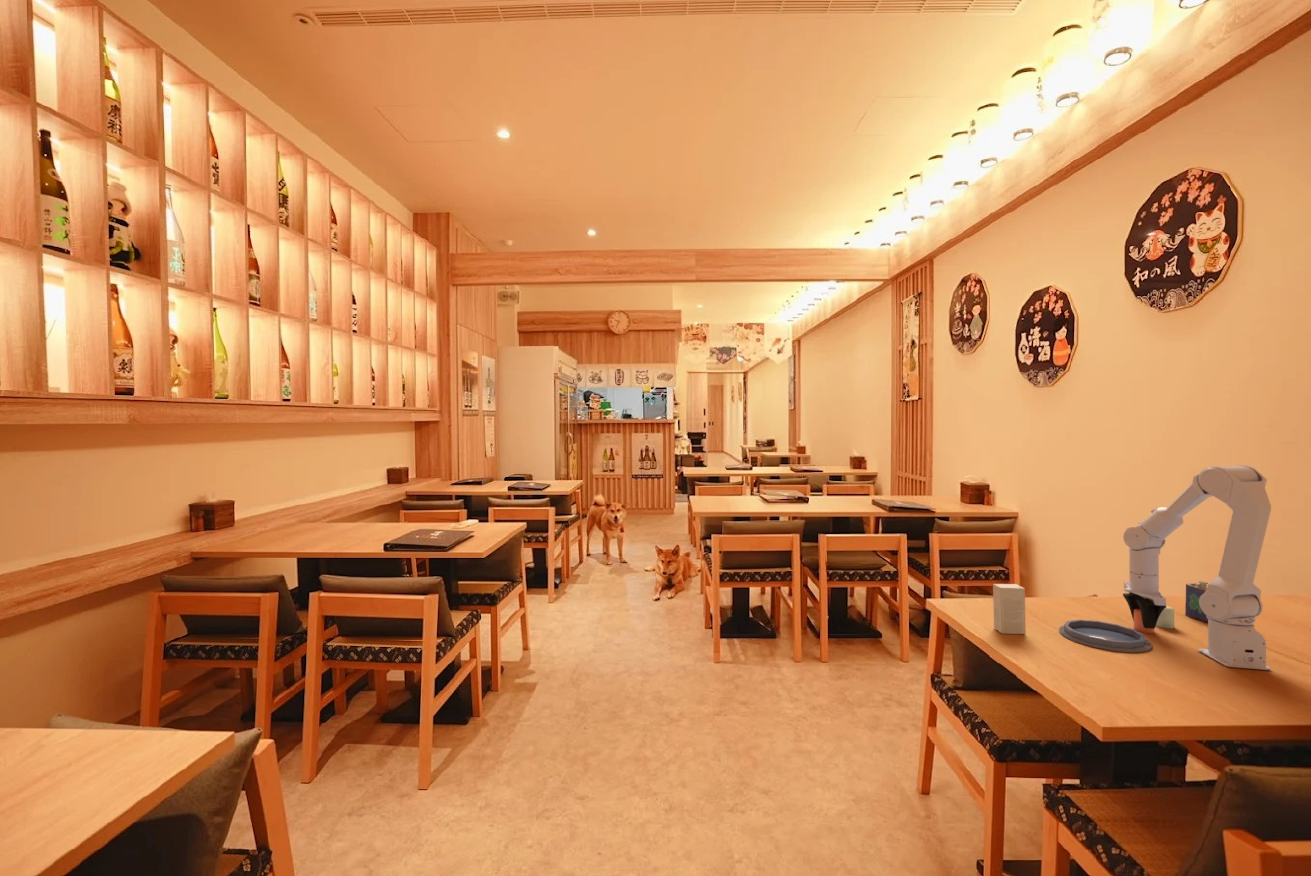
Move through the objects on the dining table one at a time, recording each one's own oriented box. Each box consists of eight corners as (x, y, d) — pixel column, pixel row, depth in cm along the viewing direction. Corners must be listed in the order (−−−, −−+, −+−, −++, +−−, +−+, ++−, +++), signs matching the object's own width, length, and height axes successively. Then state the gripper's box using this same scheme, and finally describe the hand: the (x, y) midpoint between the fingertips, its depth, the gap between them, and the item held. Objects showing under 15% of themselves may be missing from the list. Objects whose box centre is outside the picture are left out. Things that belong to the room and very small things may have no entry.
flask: (1226, 625, 146) (1225, 585, 146) (1215, 626, 146) (1215, 585, 146) (1191, 614, 156) (1190, 576, 155) (1181, 614, 155) (1180, 577, 155)
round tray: (1169, 655, 127) (1169, 647, 127) (1079, 648, 132) (1078, 640, 132) (1125, 628, 145) (1125, 621, 145) (1047, 623, 149) (1047, 616, 149)
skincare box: (1016, 628, 146) (1016, 583, 146) (1026, 634, 141) (1025, 588, 141) (992, 628, 146) (992, 583, 146) (1001, 634, 142) (1000, 587, 142)
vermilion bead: (1157, 633, 141) (1157, 614, 141) (1139, 632, 142) (1139, 613, 142) (1148, 628, 145) (1148, 609, 145) (1130, 627, 146) (1130, 608, 146)
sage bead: (1178, 628, 144) (1177, 609, 144) (1160, 628, 145) (1159, 608, 145) (1168, 623, 148) (1167, 605, 148) (1150, 623, 149) (1150, 604, 149)
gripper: (1110, 565, 152) (1110, 614, 152) (1141, 579, 138) (1142, 633, 138) (1141, 567, 150) (1141, 616, 150) (1176, 581, 136) (1176, 635, 136)
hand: (1143, 624), depth 144 cm, fingers closed on vermilion bead, 4 cm apart
